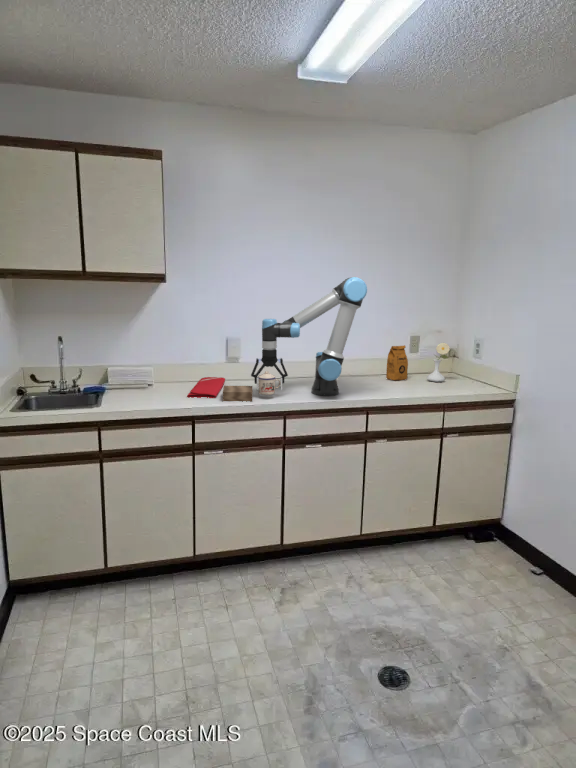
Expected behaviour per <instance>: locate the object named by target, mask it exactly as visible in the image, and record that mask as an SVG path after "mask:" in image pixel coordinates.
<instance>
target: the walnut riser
mask: <svg viewBox="0 0 576 768" xmlns="http://www.w3.org/2000/svg"><path fill="white" fill-rule="evenodd" d="M253 393H254V392H253V385H223V389H222V402H223V401H242V402H243V401H246V402H247V401H250V403H253ZM242 402H241V403H242ZM246 402H245V403H246ZM243 403H244V402H243ZM247 403H248V402H247Z"/></svg>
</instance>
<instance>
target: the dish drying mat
mask: <svg viewBox="0 0 576 768" xmlns="http://www.w3.org/2000/svg"><path fill="white" fill-rule="evenodd" d="M225 381H226V378H225V377H217V376H207V377H202V378H200V379H199V380H198V382H197V383H196V384H195V385H194V386H193V388H192V389H190V390H189V392H188V394H187V396H186V398H187V397H188V398H189V399H191V398H194V397H197V399H202V398H201V397H207V398H206V399H217V397H218V395H219V393H220V391H221V390H222V388H224V386H225V385H224V384H225ZM190 397H191V398H190ZM208 397H209V398H208ZM194 399H195V398H194Z"/></svg>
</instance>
